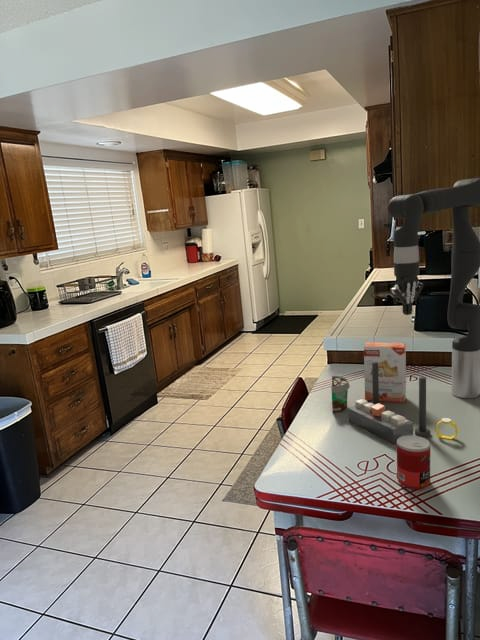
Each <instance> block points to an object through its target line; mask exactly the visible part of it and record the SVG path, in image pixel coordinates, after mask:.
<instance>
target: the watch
mask: <svg viewBox="0 0 480 640" xmlns="http://www.w3.org/2000/svg"><path fill="white" fill-rule="evenodd" d="M440 424H444V425H445V424H447V425H448V424H449V425H451V426H453V428H454V429H455V434H454V435H453V436H447V435H442V433H440V431H439V429H438V427H439V425H440ZM434 430H435V433H436V435H437V436H438V437H439V438H440V439H444V440H445V439H446V440H454V439H455V438H456V437H457V436H458V433H459V432H458V431H459V428H458V426H457V424H456V423H455V422H453V420H452V419H451V418H448V417H442V418H441V420H439V421H437V423H436V425H435V429H434Z"/></svg>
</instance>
